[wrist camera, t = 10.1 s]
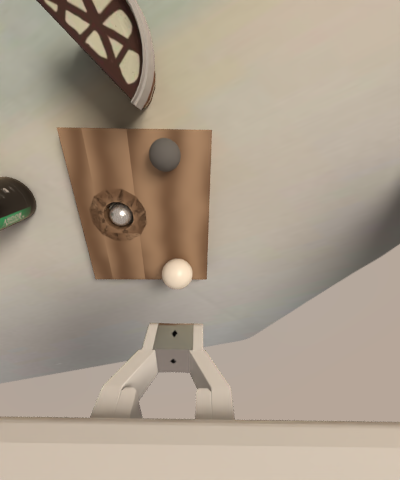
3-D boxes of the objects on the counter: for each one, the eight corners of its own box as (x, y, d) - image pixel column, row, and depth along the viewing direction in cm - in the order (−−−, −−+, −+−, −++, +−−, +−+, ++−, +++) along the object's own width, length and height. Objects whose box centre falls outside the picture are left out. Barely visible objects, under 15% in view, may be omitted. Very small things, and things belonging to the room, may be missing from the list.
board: (210, 130, 29) (211, 130, 27) (206, 271, 40) (206, 279, 37) (67, 128, 29) (56, 127, 26) (101, 271, 39) (95, 279, 37)
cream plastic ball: (192, 253, 35) (192, 269, 30) (192, 277, 37) (192, 296, 33) (163, 252, 35) (158, 269, 30) (165, 277, 37) (160, 296, 33)
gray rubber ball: (181, 138, 27) (179, 138, 24) (182, 169, 29) (180, 174, 25) (151, 137, 27) (144, 137, 24) (153, 169, 29) (147, 173, 25)
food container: (185, 78, 27) (180, 47, 18) (155, 117, 28) (135, 107, 19) (103, -21, 23) (42, -127, 14) (74, 32, 24) (3, -31, 15)
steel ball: (134, 205, 31) (109, 208, 30) (136, 226, 33) (114, 230, 31) (128, 199, 34) (105, 202, 32) (131, 219, 36) (109, 223, 34)
